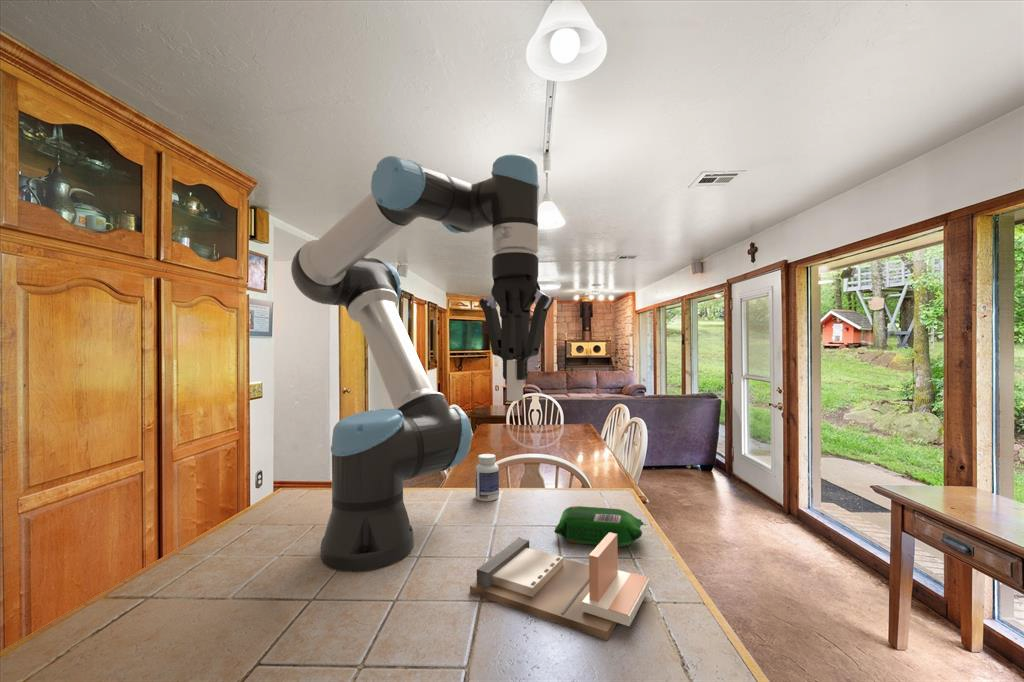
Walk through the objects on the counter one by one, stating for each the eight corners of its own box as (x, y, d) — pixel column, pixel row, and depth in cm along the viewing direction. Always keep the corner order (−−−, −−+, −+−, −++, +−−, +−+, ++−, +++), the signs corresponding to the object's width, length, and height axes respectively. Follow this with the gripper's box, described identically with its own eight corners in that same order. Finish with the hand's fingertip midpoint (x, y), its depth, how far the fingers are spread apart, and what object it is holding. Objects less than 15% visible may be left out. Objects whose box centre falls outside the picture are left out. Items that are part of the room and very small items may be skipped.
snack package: (646, 554, 74) (646, 523, 74) (553, 544, 77) (553, 514, 77) (643, 537, 80) (643, 508, 81) (558, 528, 84) (558, 501, 84)
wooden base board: (469, 592, 62) (469, 571, 62) (519, 552, 74) (519, 534, 74) (607, 640, 52) (606, 614, 52) (638, 584, 64) (638, 564, 64)
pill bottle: (503, 497, 101) (503, 455, 101) (486, 503, 98) (485, 459, 98) (488, 492, 105) (488, 451, 105) (470, 498, 101) (470, 455, 102)
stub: (582, 611, 55) (581, 557, 56) (607, 575, 64) (607, 528, 64) (629, 626, 52) (628, 568, 52) (649, 586, 61) (649, 537, 61)
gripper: (469, 255, 72) (468, 399, 71) (540, 245, 65) (540, 405, 65) (494, 262, 78) (493, 395, 78) (561, 254, 71) (561, 400, 71)
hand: (514, 399), depth 71 cm, fingers closed
